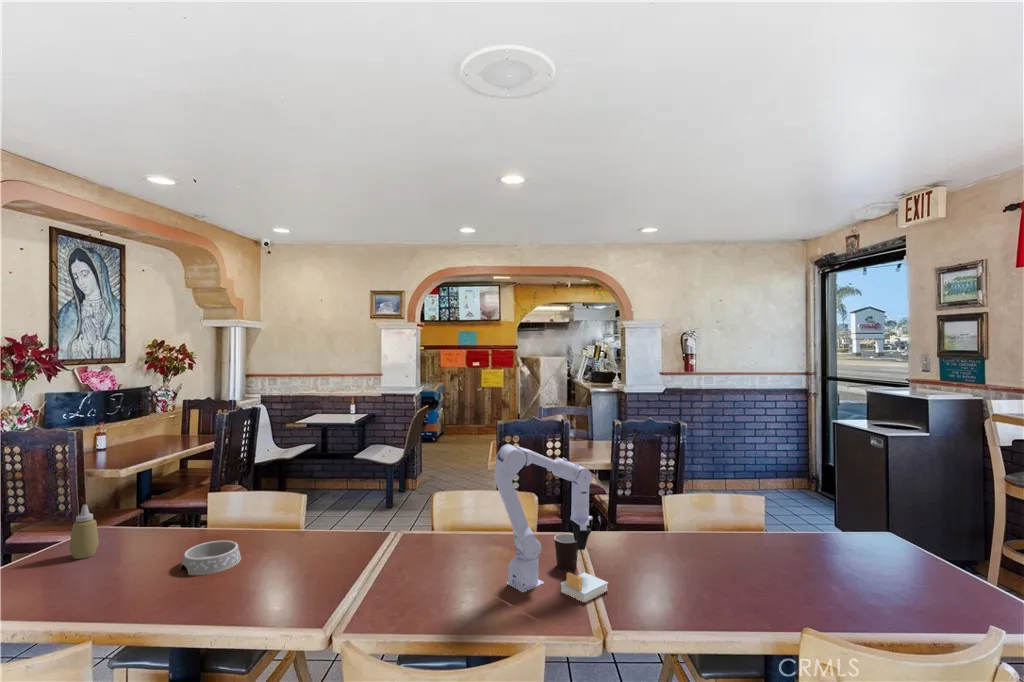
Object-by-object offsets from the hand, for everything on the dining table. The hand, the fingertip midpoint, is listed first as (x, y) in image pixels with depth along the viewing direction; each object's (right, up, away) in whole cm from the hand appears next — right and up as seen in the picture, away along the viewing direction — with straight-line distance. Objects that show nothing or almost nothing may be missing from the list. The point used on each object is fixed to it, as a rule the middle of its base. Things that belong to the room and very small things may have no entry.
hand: (579, 544), depth 171 cm
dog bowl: (-125, -10, +7) cm, 126 cm away
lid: (0, -8, -12) cm, 14 cm away
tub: (0, -10, -12) cm, 16 cm away
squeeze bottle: (-173, -9, +12) cm, 174 cm away
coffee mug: (-3, -10, +7) cm, 13 cm away
